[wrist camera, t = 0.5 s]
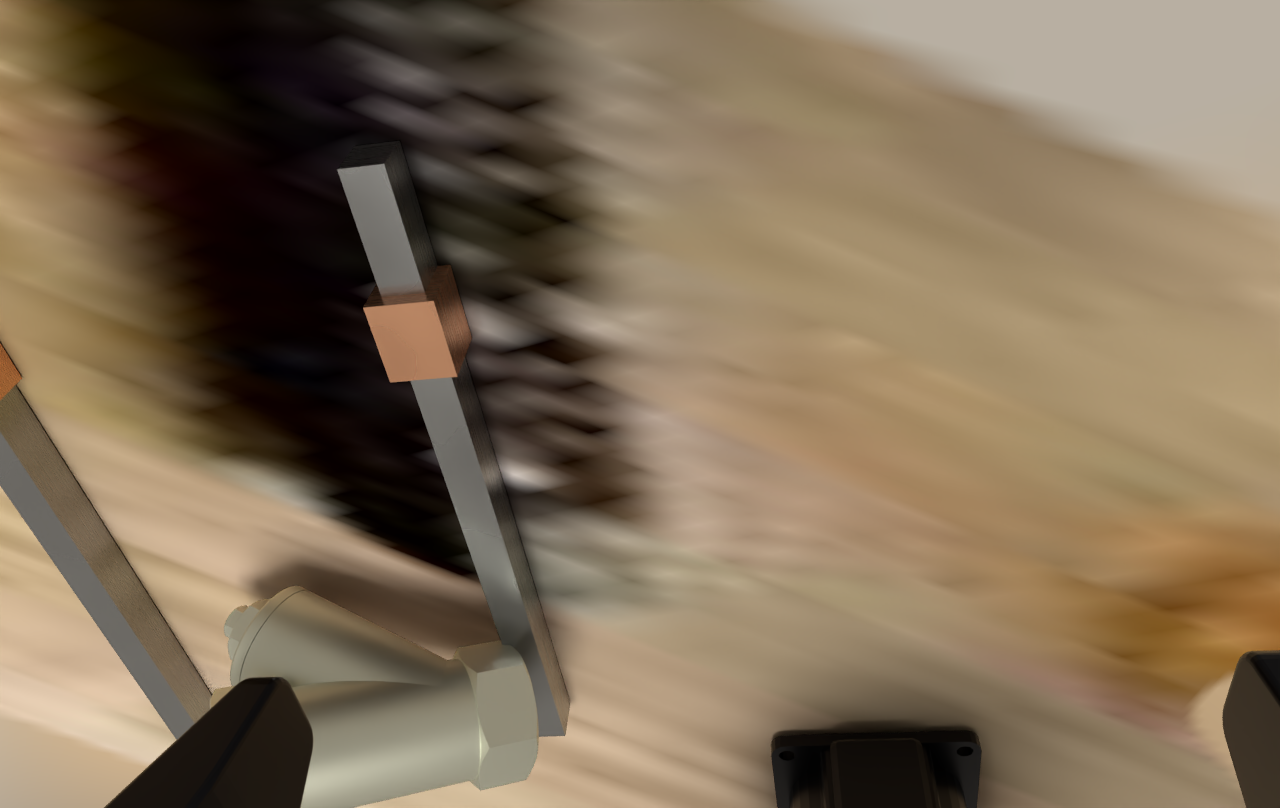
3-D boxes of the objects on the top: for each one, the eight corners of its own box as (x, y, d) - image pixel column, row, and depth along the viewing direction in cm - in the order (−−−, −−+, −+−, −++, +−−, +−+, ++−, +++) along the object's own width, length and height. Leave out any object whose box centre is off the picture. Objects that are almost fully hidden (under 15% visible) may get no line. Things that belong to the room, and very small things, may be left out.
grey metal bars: (579, 703, 32) (573, 746, 31) (188, 716, 34) (167, 757, 33) (413, 138, 21) (392, 170, 20) (-151, 206, 23) (-203, 239, 22)
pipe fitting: (204, 660, 30) (222, 872, 25) (199, 568, 28) (218, 783, 23) (466, 618, 33) (525, 798, 29) (480, 534, 31) (547, 714, 26)
